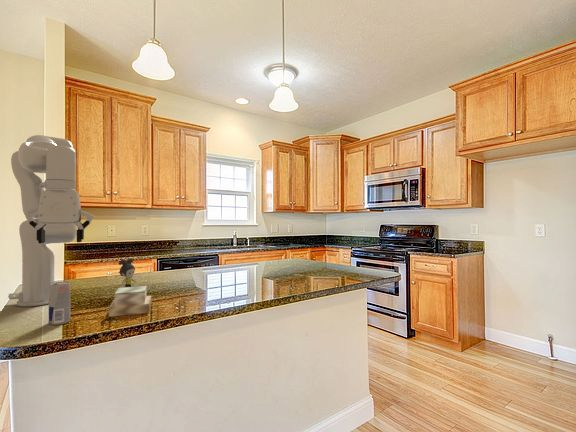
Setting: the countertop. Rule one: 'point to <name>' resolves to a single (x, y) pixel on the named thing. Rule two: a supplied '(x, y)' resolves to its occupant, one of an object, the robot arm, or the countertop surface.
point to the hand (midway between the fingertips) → (60, 242)
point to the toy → (127, 272)
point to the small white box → (130, 301)
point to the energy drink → (59, 303)
